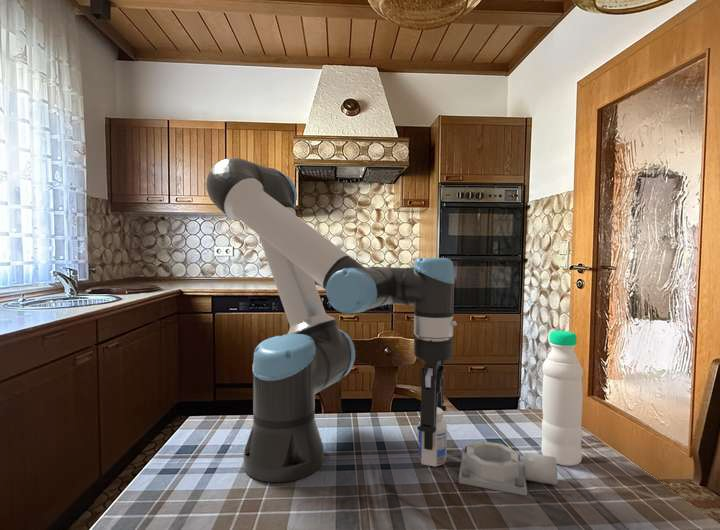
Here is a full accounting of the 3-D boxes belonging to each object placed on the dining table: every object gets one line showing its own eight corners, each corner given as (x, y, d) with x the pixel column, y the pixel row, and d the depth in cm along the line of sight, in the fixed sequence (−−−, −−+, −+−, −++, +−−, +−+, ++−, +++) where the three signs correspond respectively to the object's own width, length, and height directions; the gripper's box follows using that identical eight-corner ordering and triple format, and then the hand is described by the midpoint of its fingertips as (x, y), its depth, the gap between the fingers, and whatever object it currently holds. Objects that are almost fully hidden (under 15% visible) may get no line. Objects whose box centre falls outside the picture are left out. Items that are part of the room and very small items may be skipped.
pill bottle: (422, 450, 79) (422, 402, 79) (448, 455, 77) (449, 407, 76) (415, 463, 74) (415, 412, 74) (443, 469, 72) (443, 417, 71)
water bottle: (587, 469, 72) (589, 336, 71) (546, 465, 73) (548, 334, 73) (574, 451, 79) (576, 329, 78) (537, 447, 80) (539, 327, 80)
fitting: (458, 483, 67) (459, 458, 67) (462, 453, 78) (463, 431, 78) (560, 502, 62) (561, 475, 62) (550, 467, 73) (550, 444, 72)
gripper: (447, 350, 64) (446, 486, 64) (457, 329, 83) (456, 433, 84) (403, 347, 66) (402, 478, 66) (423, 326, 86) (422, 428, 86)
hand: (432, 453), depth 75 cm, fingers open, 8 cm apart
